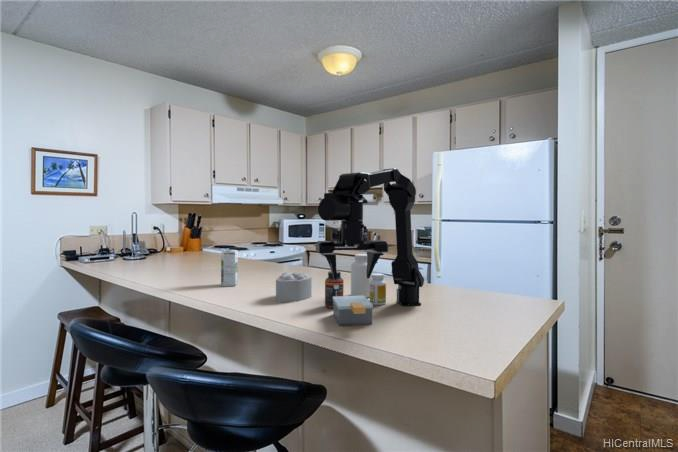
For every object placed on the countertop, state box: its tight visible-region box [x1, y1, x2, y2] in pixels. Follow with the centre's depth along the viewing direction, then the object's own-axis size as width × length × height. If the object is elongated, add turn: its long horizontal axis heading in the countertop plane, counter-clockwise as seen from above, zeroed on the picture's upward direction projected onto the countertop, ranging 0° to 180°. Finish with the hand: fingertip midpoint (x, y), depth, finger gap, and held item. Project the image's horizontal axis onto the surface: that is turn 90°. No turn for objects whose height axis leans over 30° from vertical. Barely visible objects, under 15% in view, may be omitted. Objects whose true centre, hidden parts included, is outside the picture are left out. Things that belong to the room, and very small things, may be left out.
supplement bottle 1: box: [324, 270, 344, 309], centre depth 114 cm, size 6×6×11 cm
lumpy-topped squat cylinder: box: [275, 271, 313, 303], centre depth 126 cm, size 10×13×9 cm
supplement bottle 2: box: [369, 272, 387, 306], centre depth 119 cm, size 5×5×10 cm
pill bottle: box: [350, 253, 374, 299], centre depth 129 cm, size 8×8×15 cm
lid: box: [333, 295, 374, 314], centre depth 98 cm, size 9×16×2 cm, turn 9°
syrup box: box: [220, 249, 239, 287], centre depth 147 cm, size 6×6×14 cm
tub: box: [332, 301, 373, 327], centre depth 101 cm, size 9×11×4 cm
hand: (351, 278), depth 95 cm, fingers open, 9 cm apart
